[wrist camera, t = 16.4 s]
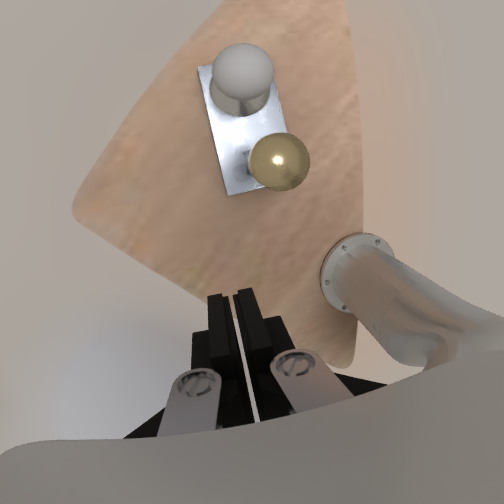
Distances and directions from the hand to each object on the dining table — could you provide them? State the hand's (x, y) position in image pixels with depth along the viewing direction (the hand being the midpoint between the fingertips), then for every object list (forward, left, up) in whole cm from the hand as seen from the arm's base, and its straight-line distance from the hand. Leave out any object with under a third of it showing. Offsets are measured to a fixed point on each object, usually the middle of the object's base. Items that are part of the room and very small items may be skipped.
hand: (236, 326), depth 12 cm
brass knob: (+1, -8, -22) cm, 24 cm away
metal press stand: (+6, -10, -31) cm, 33 cm away
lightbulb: (+10, -11, -29) cm, 33 cm away
